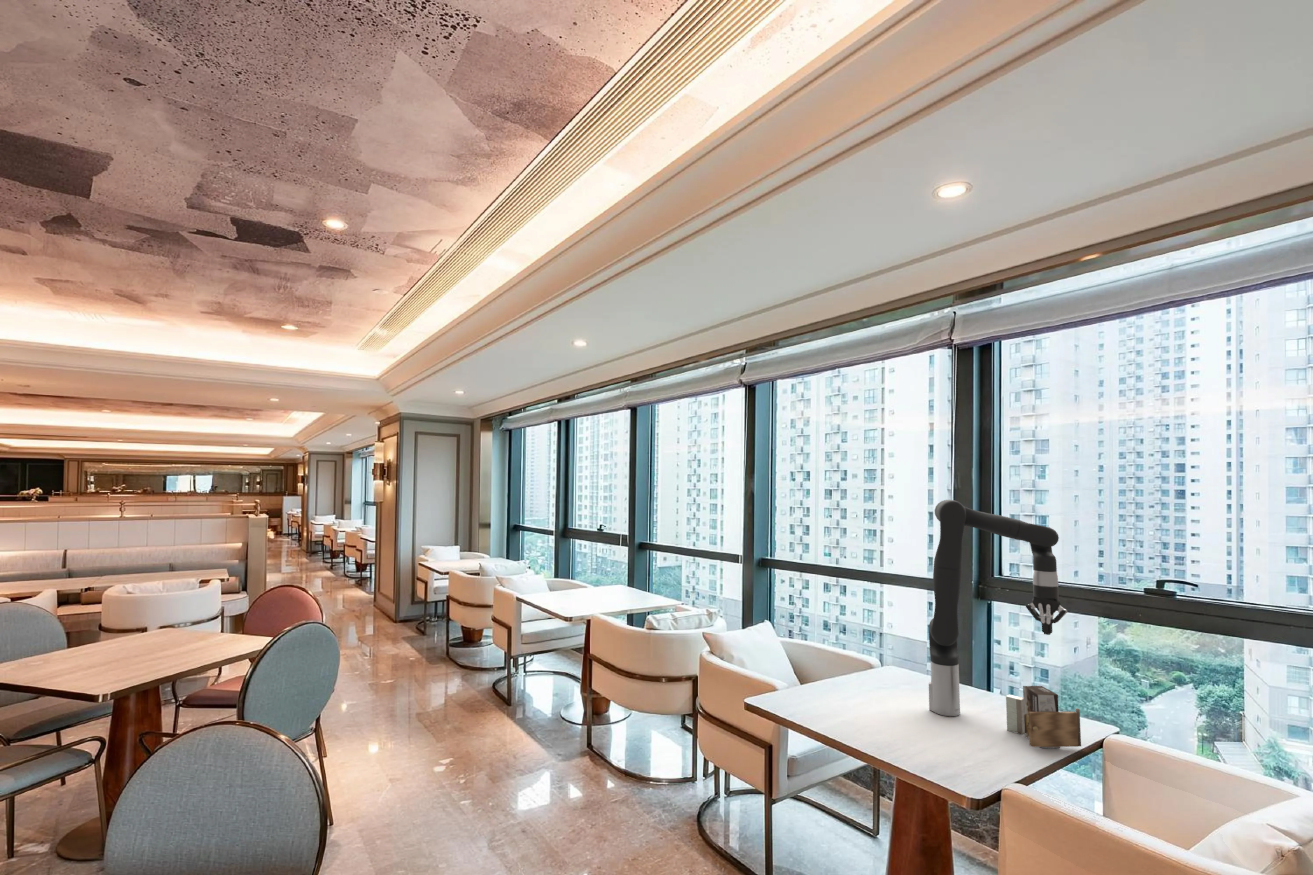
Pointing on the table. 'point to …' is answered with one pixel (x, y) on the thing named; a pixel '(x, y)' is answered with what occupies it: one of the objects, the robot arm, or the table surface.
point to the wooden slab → (1054, 729)
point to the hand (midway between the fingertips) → (1047, 634)
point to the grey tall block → (1015, 714)
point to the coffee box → (1038, 703)
